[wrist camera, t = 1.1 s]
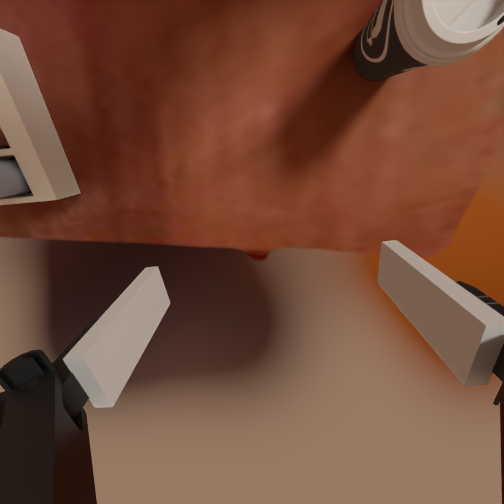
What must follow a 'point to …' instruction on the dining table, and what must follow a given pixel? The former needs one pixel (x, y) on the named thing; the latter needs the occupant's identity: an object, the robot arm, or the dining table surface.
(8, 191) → the button slate
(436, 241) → the dining table surface
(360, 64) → the coffee cup
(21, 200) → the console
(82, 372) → the robot arm
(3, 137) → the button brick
